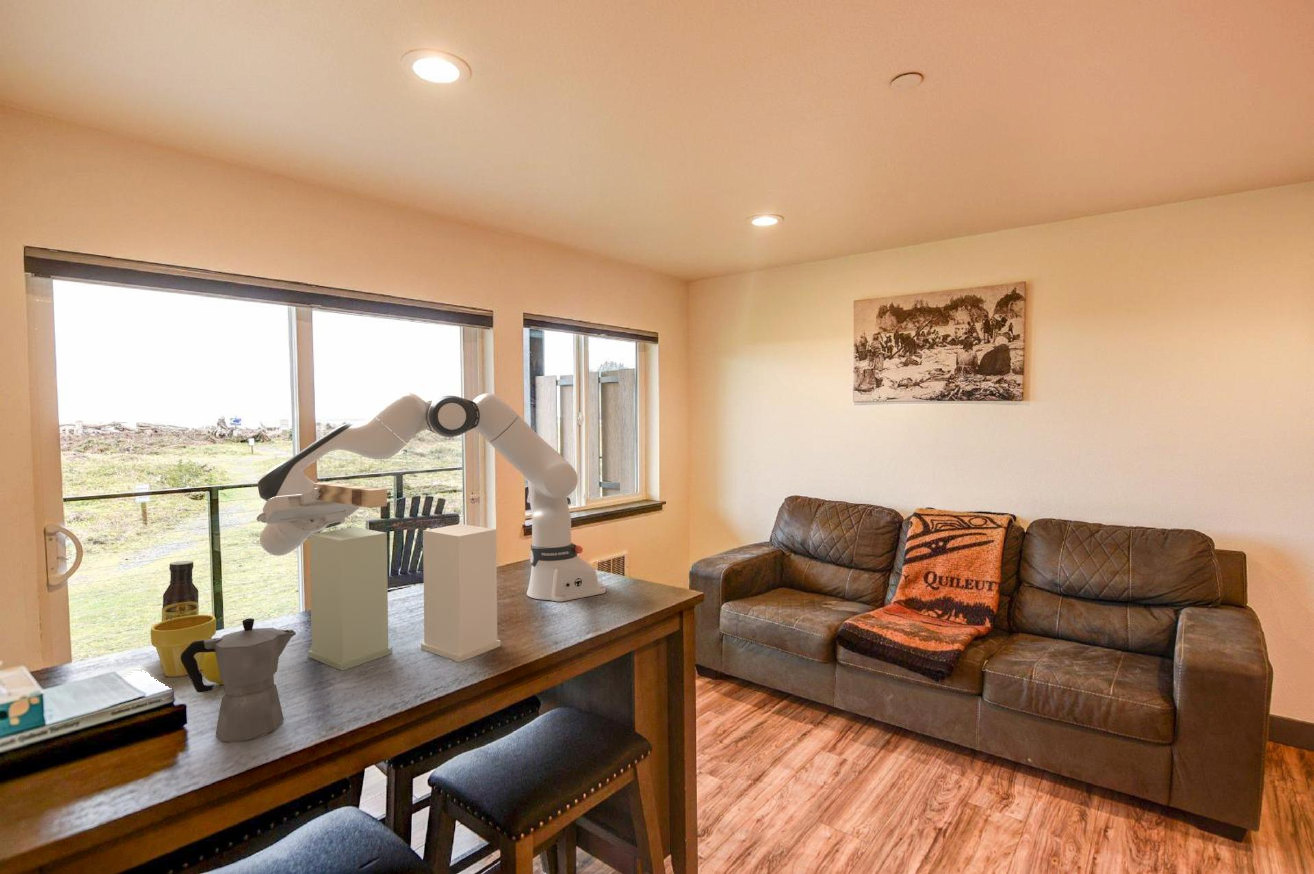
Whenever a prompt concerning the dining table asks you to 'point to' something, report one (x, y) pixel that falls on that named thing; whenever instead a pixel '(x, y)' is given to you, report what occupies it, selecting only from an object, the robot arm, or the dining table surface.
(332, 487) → the beech block
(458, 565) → the white pedestal
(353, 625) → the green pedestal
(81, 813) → the dining table surface
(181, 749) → the dining table surface
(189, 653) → the coffeepot
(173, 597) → the sauce bottle
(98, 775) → the dining table surface
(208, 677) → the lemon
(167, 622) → the plant pot
